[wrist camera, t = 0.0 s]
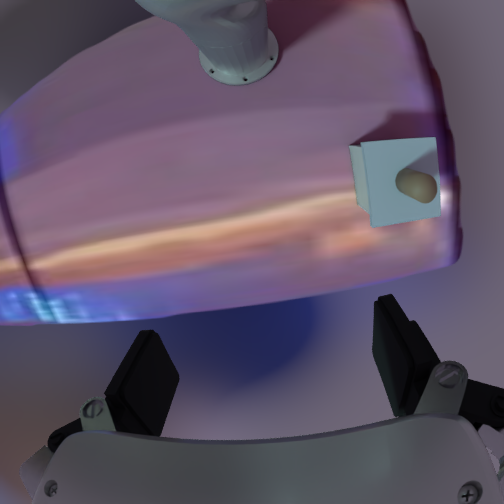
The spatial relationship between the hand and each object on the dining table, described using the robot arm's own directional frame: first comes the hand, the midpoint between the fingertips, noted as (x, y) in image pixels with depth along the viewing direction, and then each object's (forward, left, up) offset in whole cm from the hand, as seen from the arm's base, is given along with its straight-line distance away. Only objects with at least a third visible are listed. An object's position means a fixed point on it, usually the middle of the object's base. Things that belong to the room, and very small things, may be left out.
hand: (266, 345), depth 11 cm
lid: (0, +19, -28) cm, 33 cm away
